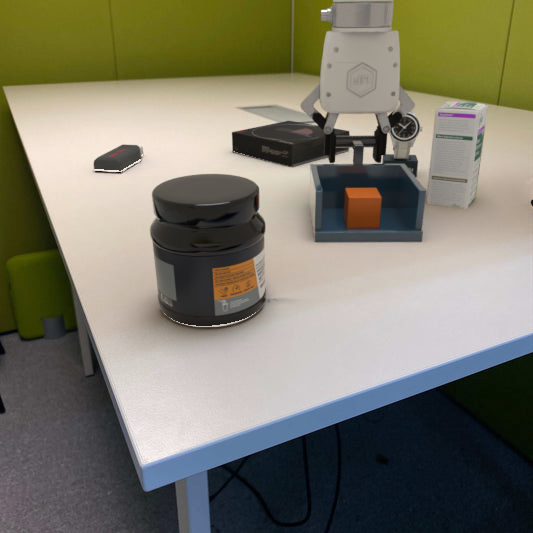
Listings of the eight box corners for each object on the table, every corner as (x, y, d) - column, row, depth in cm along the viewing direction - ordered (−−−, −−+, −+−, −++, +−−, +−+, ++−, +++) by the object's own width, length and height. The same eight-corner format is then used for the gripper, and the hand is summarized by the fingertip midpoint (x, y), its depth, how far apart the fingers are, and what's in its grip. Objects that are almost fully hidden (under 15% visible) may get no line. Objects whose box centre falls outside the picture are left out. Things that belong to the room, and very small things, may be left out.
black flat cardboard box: (350, 150, 110) (351, 130, 109) (292, 166, 100) (292, 144, 98) (290, 138, 121) (291, 120, 119) (232, 152, 110) (231, 132, 109)
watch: (383, 182, 91) (388, 114, 86) (381, 169, 98) (386, 105, 93) (417, 183, 90) (425, 114, 85) (413, 169, 97) (420, 106, 92)
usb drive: (94, 172, 98) (92, 156, 97) (123, 155, 109) (121, 141, 108) (121, 173, 97) (119, 158, 96) (148, 156, 108) (146, 142, 107)
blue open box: (307, 202, 80) (309, 134, 76) (394, 201, 80) (400, 134, 76) (314, 247, 65) (316, 166, 61) (421, 247, 65) (430, 166, 61)
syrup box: (466, 217, 75) (483, 108, 69) (423, 211, 78) (435, 105, 71) (474, 205, 79) (490, 102, 73) (433, 199, 82) (445, 99, 76)
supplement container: (288, 311, 53) (288, 190, 47) (191, 347, 47) (179, 216, 42) (230, 272, 60) (225, 165, 55) (141, 300, 55) (126, 184, 50)
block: (374, 216, 72) (376, 187, 70) (379, 228, 68) (381, 197, 67) (343, 217, 72) (345, 187, 70) (347, 228, 68) (348, 197, 67)
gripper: (294, 20, 66) (293, 168, 73) (438, 18, 65) (422, 167, 73) (292, 19, 72) (291, 154, 80) (423, 17, 72) (410, 153, 80)
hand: (354, 159), depth 77 cm, fingers closed on blue open box, 5 cm apart
